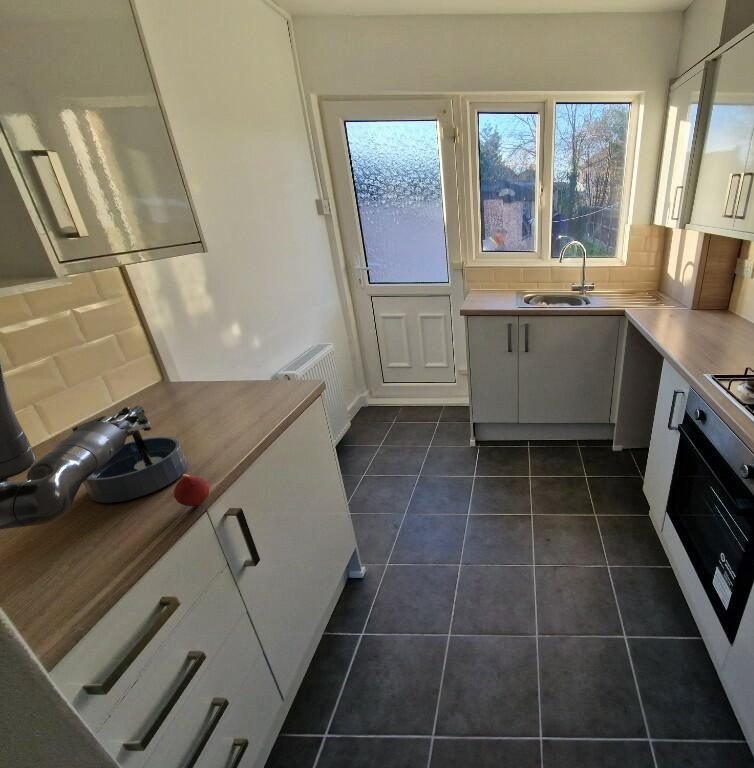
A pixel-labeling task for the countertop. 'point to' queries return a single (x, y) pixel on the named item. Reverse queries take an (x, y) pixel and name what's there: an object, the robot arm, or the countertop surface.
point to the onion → (191, 490)
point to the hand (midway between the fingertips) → (135, 410)
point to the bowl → (125, 482)
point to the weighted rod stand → (141, 448)
